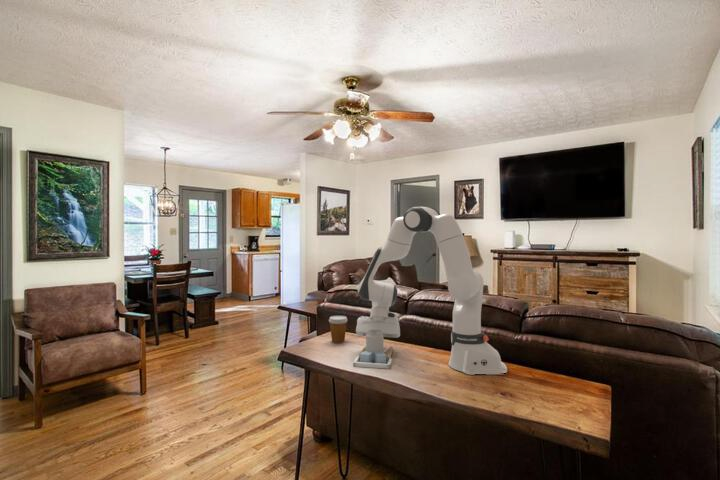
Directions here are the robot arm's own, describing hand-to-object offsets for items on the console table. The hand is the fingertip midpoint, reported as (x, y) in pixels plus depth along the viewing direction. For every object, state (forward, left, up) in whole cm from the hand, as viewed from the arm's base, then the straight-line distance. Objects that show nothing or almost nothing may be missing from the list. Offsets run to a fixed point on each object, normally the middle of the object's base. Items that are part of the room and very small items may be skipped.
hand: (376, 344), depth 160 cm
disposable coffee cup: (+22, -18, -5) cm, 29 cm away
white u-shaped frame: (0, +11, -5) cm, 12 cm away
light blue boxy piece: (-3, +9, -5) cm, 11 cm away
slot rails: (0, -1, -5) cm, 5 cm away
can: (0, +4, -5) cm, 7 cm away
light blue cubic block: (+3, +9, -5) cm, 11 cm away
